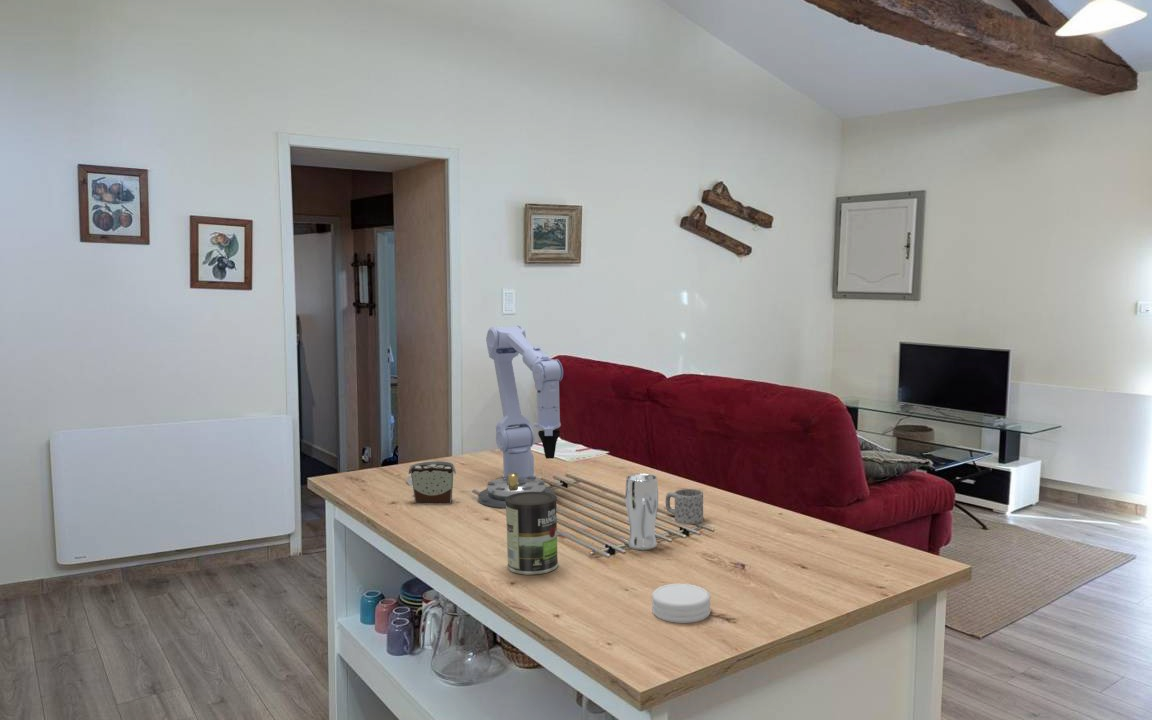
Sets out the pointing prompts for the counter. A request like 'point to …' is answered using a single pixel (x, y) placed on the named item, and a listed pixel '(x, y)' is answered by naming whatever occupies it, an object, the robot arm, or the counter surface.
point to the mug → (686, 506)
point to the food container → (432, 482)
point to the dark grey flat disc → (497, 503)
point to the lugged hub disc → (514, 486)
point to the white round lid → (681, 603)
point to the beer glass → (642, 510)
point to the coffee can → (531, 532)
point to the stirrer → (409, 480)
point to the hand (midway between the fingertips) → (549, 458)
